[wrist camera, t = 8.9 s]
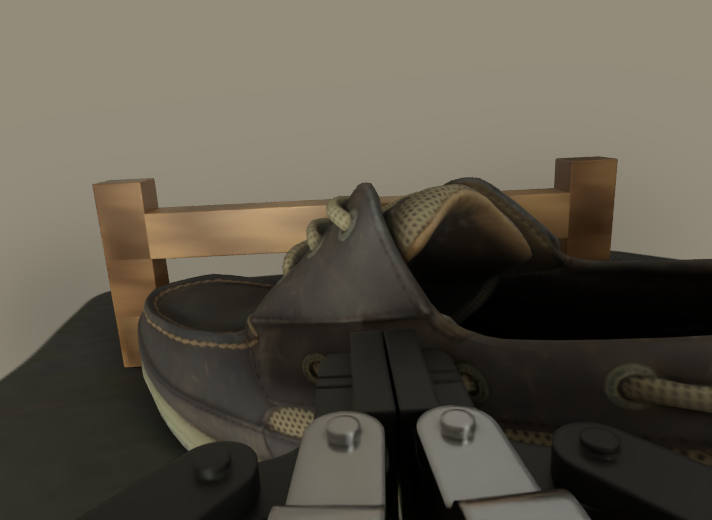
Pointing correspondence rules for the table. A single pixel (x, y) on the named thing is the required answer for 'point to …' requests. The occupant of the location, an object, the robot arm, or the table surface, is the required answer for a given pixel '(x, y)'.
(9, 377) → the table surface
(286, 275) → the boat shoe
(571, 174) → the wooden display stand
